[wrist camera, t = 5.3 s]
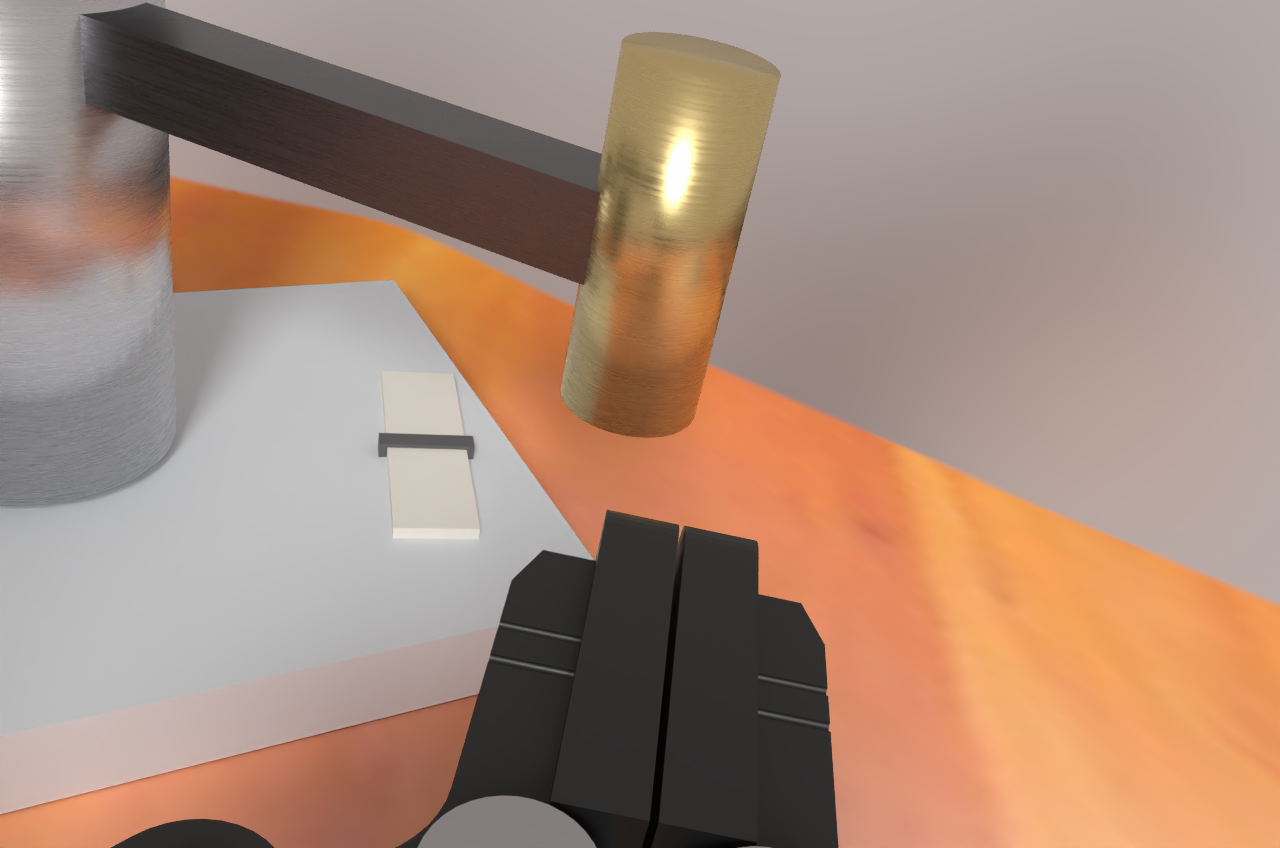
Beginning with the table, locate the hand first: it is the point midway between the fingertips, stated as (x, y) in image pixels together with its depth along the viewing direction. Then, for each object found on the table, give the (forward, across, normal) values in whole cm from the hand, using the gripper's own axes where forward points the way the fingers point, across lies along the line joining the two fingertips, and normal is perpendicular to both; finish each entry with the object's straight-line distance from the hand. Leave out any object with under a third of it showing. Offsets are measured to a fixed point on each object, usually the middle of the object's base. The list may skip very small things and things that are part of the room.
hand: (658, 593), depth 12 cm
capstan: (+11, +8, +10) cm, 17 cm away
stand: (+13, +13, +12) cm, 21 cm away
